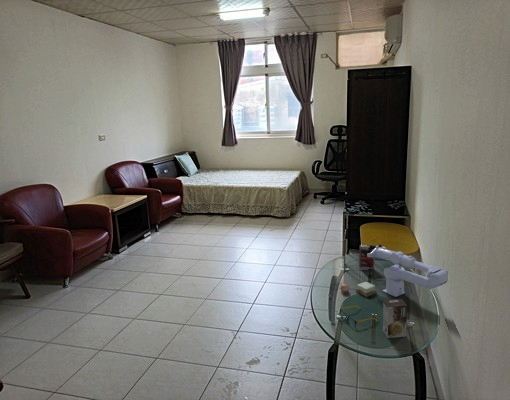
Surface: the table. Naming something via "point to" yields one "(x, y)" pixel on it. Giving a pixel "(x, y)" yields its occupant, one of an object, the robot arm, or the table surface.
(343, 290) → the salmon pink cylinder
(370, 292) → the walnut base slab
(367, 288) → the sage top slab
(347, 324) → the table surface
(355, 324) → the eyeglasses
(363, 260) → the supplement box
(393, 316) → the coffee box
